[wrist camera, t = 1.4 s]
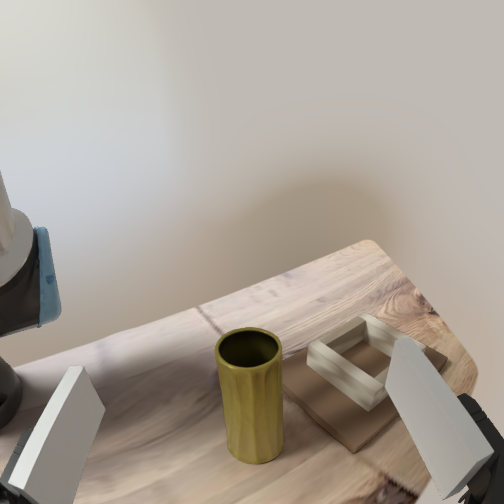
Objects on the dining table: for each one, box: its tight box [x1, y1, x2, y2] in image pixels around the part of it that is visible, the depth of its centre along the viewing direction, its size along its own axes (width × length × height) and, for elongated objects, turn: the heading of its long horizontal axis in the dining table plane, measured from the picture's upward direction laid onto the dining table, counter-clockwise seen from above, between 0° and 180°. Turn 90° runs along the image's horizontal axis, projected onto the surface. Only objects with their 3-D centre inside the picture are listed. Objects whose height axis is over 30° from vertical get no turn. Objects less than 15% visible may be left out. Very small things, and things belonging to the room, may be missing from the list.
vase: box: [214, 327, 284, 464], centre depth 26 cm, size 6×6×14 cm
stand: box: [282, 312, 448, 454], centre depth 36 cm, size 16×20×5 cm
